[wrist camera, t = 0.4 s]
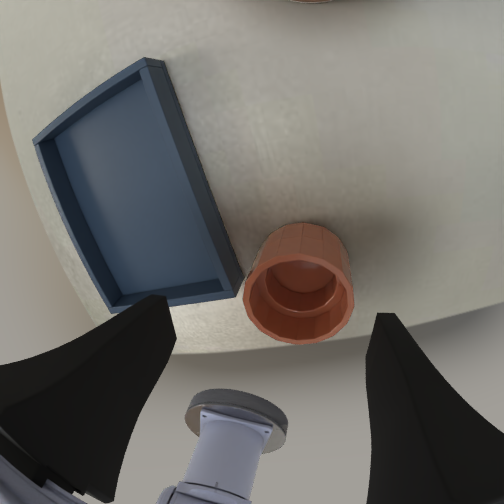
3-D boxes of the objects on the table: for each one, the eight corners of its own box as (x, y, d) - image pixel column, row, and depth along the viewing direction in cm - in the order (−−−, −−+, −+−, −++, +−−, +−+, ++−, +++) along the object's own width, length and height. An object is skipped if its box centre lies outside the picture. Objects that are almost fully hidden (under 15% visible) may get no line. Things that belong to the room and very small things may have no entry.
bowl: (333, 306, 20) (334, 352, 16) (253, 287, 21) (237, 331, 17) (359, 231, 17) (369, 269, 13) (267, 210, 18) (251, 242, 14)
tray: (244, 278, 21) (236, 297, 18) (124, 298, 24) (110, 314, 22) (163, 60, 15) (144, 56, 13) (52, 133, 18) (31, 139, 16)
